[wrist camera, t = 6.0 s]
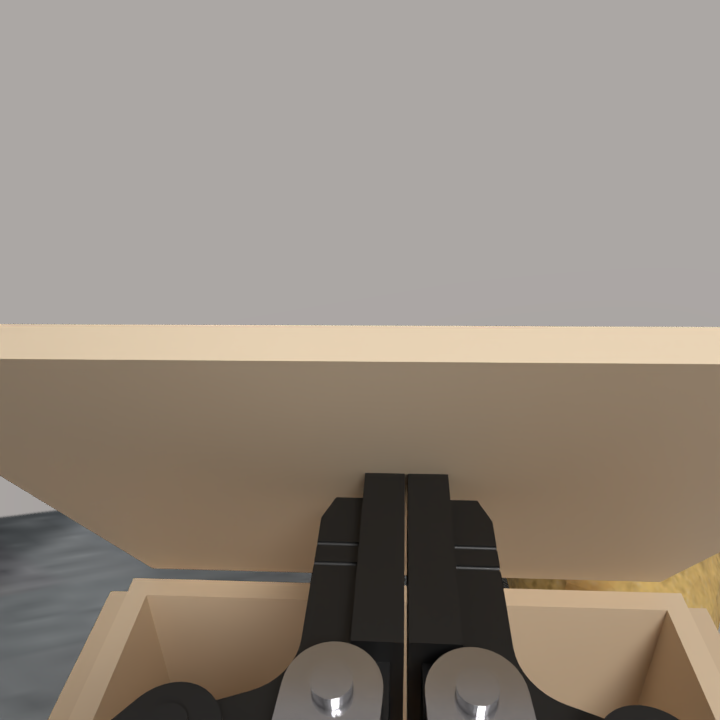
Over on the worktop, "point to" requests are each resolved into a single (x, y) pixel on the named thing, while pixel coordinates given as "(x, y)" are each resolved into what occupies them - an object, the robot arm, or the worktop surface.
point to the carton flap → (371, 437)
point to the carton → (285, 626)
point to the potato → (650, 585)
